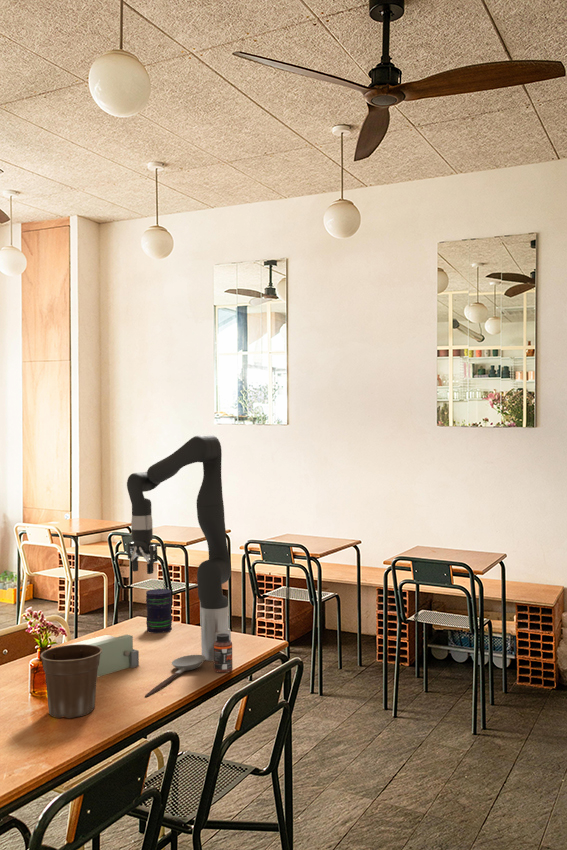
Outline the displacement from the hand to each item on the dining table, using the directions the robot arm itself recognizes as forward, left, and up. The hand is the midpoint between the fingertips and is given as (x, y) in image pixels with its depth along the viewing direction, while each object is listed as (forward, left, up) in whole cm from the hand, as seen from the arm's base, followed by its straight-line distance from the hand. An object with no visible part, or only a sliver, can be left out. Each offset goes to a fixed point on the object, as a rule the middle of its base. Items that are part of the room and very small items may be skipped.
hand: (142, 572), depth 265 cm
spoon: (-38, +19, -27) cm, 50 cm away
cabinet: (-11, +28, -26) cm, 40 cm away
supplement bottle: (-44, +3, -26) cm, 51 cm away
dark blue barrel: (+12, -17, -26) cm, 34 cm away
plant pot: (-36, +53, -26) cm, 69 cm away
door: (-16, +28, -26) cm, 41 cm away
